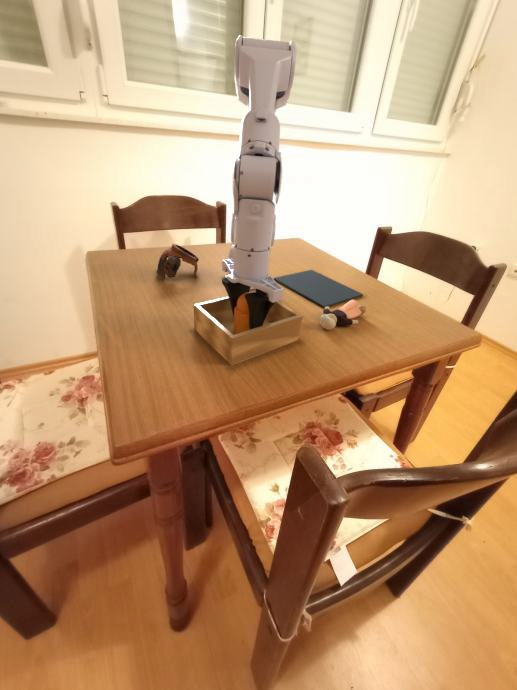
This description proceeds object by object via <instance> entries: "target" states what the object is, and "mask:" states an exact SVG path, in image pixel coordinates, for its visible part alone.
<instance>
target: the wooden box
mask: <svg viewBox="0 0 517 690" xmlns="http://www.w3.org/2000/svg"><path fill="white" fill-rule="evenodd" d="M253 292H256V289H252V290H250V291H249V293H253ZM303 318H304V317H303V315H302V314H300V313H299V312H297V311H295V310H294V309H292V308H290V307H289V306H287V305H286V304H284V303H282V302H281V301H277V302H275V303H274V304H273V306H272V307H271V309H270V310H269V312H268V314H267V316H266V318H265V321H264V323H263V326H261V327H257V328H254V329H251V330H248V331H245V332H242V333H238V334H235V335H234V334H233V329H234V316H233V312H232V308H231V304H230V300H229V296H228V295H227V296H224V297H220V298H215V299H211V300H206V301H203V302H198V303H194V304H193V329H194V331H196V332H197V333H198V334H199V336H201V337H202V339H204V340H205V341H206V342H207V343H208V344H209V345H210V346H211V347H212V348H213V349H214V350H215V351H216V352H217V353H218V354H219V355H220V356H221V357H222V358H223V359H224V360H225V361H226V362H227V363H228V364H229V365H231V366H233V365H236V364H238V363H242V362H243V361H247V360H249V359H252V358H255V357H257V356H259V355H262V354H265V353H268V352H271V351H273V350H276V349H278V348H281V347H284V346H286V345H289V344H291V343H292V344H293V343H295V342H297V341H299V340H300V339H299V338H300V332H301V327H302V322H303Z"/></svg>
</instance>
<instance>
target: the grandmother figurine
mask: <svg viewBox="0 0 517 690" xmlns="http://www.w3.org/2000/svg"><path fill="white" fill-rule="evenodd" d="M366 312H367V306H366V305H365V304H359V303H358V301H357V300H356V299H351V300H348V301H347V302H346V303H345V304H343V305H342V306H340V307H339V308H337V309H334V310H332V311H331V307H330V306H329V307H328V306H326V307H325V308H323V311H322V313H323V314H322V315H321V316H320V319H319V320H320V321H319V322H320V326H321V327H322V329H325V330H326V331H331V330H333V329H334V328H335V327H336V326H337V325H344V326H357V325H359V320H358V319H355V318H357V317H362V316H363V315H364V314H365V313H366Z"/></svg>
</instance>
